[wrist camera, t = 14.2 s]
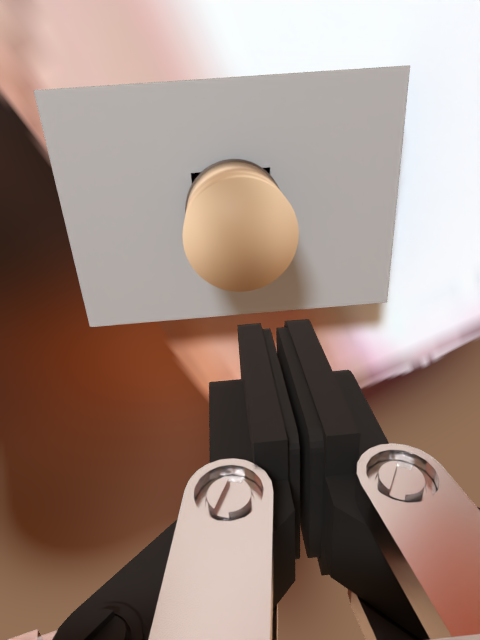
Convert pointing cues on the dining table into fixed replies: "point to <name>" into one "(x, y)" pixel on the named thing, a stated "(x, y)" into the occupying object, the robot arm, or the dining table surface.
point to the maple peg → (238, 226)
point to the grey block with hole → (213, 146)
